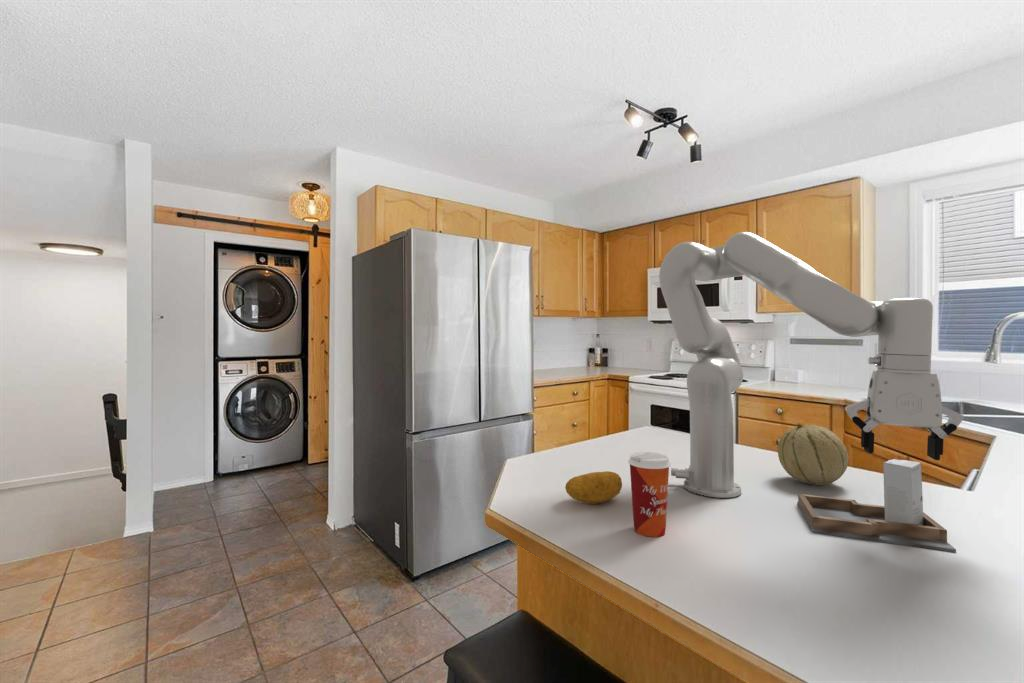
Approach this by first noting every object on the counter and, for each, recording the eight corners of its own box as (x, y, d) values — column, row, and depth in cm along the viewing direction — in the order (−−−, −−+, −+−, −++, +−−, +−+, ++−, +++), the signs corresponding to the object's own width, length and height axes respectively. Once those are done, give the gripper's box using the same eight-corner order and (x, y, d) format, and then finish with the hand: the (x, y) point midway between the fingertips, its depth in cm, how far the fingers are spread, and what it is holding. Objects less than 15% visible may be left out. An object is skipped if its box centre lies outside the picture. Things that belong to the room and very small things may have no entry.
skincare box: (914, 535, 79) (913, 467, 80) (882, 526, 83) (882, 462, 83) (924, 527, 83) (924, 462, 83) (894, 519, 87) (893, 457, 87)
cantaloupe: (865, 491, 105) (864, 427, 105) (810, 494, 102) (809, 429, 102) (813, 473, 119) (812, 417, 119) (764, 476, 117) (763, 419, 117)
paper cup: (649, 543, 78) (648, 463, 78) (619, 527, 85) (619, 454, 85) (681, 534, 82) (680, 458, 82) (650, 519, 88) (649, 449, 88)
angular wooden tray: (813, 532, 82) (813, 518, 82) (797, 503, 97) (797, 492, 97) (956, 552, 74) (955, 537, 74) (914, 517, 89) (914, 505, 89)
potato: (631, 504, 97) (631, 473, 97) (575, 512, 92) (575, 479, 92) (611, 492, 104) (611, 464, 104) (559, 500, 100) (558, 470, 100)
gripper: (853, 363, 83) (850, 454, 84) (976, 367, 76) (972, 466, 77) (841, 361, 90) (839, 445, 90) (953, 365, 83) (950, 456, 83)
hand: (900, 454), depth 84 cm, fingers open, 9 cm apart
